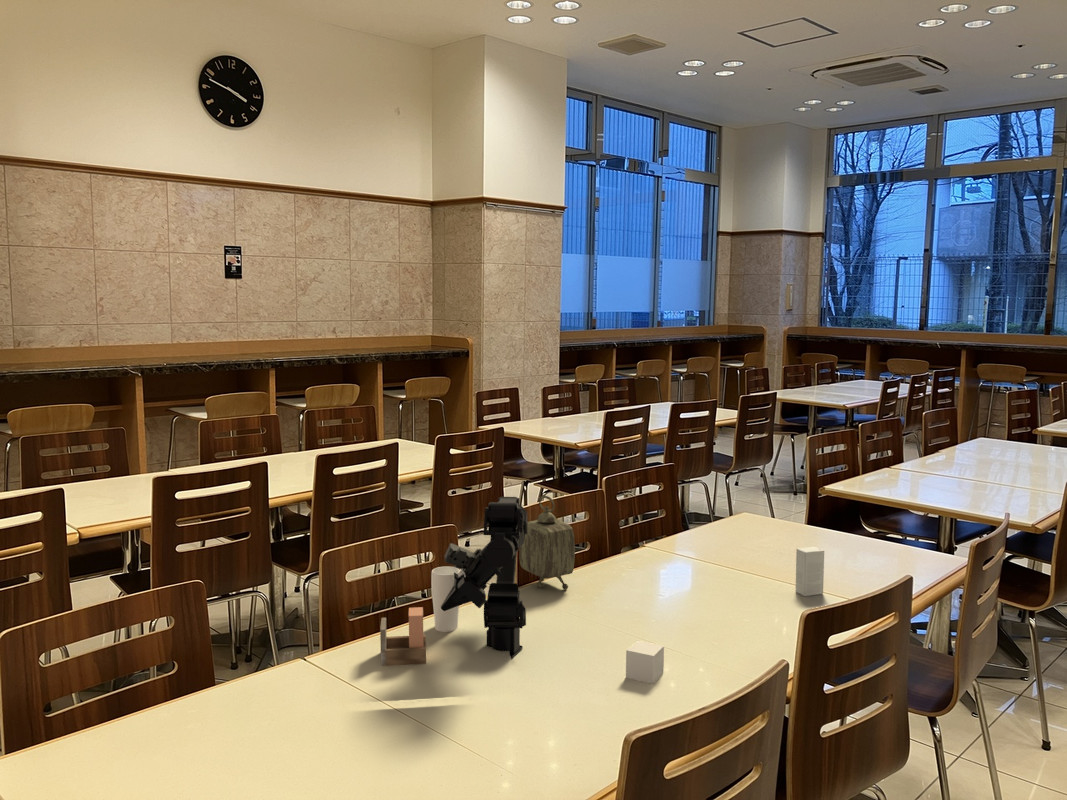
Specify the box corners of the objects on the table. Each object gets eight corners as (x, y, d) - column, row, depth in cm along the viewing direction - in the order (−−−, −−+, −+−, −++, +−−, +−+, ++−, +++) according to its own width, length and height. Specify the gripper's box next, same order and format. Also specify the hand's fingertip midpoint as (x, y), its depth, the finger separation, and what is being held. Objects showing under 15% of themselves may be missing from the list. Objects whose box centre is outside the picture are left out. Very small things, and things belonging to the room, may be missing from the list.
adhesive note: (653, 684, 178) (653, 655, 177) (625, 678, 181) (626, 650, 180) (663, 673, 183) (664, 645, 183) (636, 667, 186) (637, 640, 185)
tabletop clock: (574, 590, 235) (575, 499, 232) (547, 596, 230) (547, 503, 227) (543, 576, 247) (544, 489, 244) (516, 582, 242) (516, 493, 239)
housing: (430, 654, 192) (429, 614, 191) (431, 669, 185) (430, 628, 184) (382, 656, 191) (381, 616, 190) (380, 672, 183) (380, 630, 182)
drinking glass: (456, 639, 201) (455, 575, 199) (428, 637, 202) (427, 573, 201) (464, 628, 208) (464, 567, 206) (437, 626, 209) (436, 565, 207)
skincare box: (813, 589, 237) (815, 546, 235) (823, 594, 233) (825, 550, 231) (794, 591, 235) (795, 548, 233) (803, 596, 231) (805, 552, 229)
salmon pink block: (423, 651, 191) (422, 607, 190) (423, 660, 186) (423, 615, 185) (409, 652, 190) (408, 607, 189) (409, 661, 185) (408, 616, 184)
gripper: (463, 521, 196) (414, 571, 195) (469, 544, 177) (415, 599, 177) (499, 554, 198) (450, 603, 197) (508, 580, 179) (454, 635, 179)
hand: (442, 609), depth 188 cm, fingers closed
